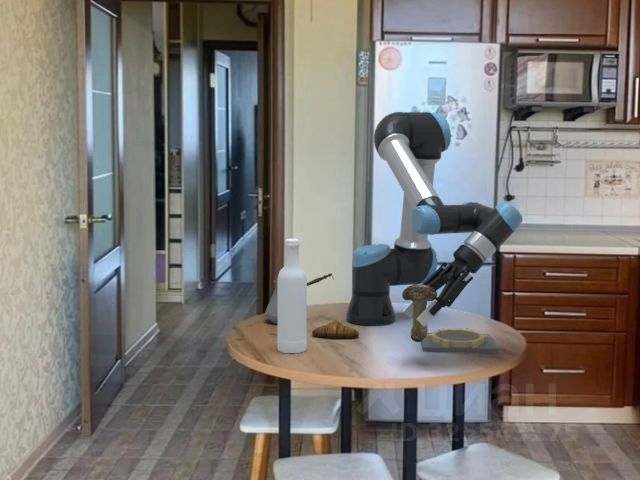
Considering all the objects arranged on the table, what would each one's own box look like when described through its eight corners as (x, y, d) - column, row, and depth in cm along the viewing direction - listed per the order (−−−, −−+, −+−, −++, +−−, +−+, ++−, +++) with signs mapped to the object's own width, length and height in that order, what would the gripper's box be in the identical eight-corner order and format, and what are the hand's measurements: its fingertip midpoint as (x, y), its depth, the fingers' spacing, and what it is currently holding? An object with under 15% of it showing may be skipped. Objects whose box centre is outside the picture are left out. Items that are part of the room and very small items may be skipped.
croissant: (359, 335, 227) (359, 318, 227) (358, 341, 221) (358, 324, 220) (313, 333, 229) (313, 317, 228) (310, 339, 222) (310, 322, 222)
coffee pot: (265, 326, 237) (265, 277, 235) (264, 317, 248) (264, 271, 246) (335, 325, 239) (336, 276, 237) (331, 316, 250) (331, 270, 248)
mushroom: (410, 349, 193) (412, 290, 191) (393, 339, 201) (395, 282, 198) (443, 344, 197) (446, 286, 194) (425, 335, 205) (427, 279, 202)
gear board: (422, 351, 210) (423, 341, 209) (419, 336, 226) (419, 327, 225) (498, 353, 208) (498, 343, 208) (489, 338, 224) (489, 328, 224)
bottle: (303, 354, 206) (304, 241, 203) (274, 353, 208) (274, 240, 204) (309, 346, 214) (309, 237, 210) (280, 345, 215) (280, 236, 212)
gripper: (503, 270, 191) (440, 339, 189) (464, 256, 211) (407, 318, 209) (484, 249, 189) (420, 318, 187) (446, 237, 209) (388, 299, 206)
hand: (413, 318), depth 198 cm, fingers closed on mushroom, 8 cm apart
